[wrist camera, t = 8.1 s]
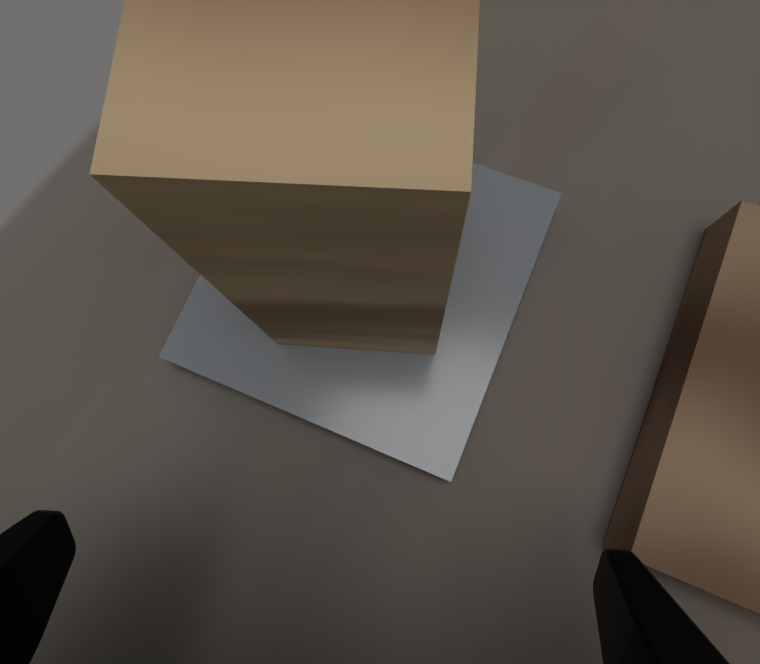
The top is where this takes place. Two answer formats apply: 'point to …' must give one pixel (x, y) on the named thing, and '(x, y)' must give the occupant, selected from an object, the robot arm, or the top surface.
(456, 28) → the oak block
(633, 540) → the walnut ledge
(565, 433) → the top surface
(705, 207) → the top surface
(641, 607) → the robot arm
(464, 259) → the slate tile
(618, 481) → the top surface
